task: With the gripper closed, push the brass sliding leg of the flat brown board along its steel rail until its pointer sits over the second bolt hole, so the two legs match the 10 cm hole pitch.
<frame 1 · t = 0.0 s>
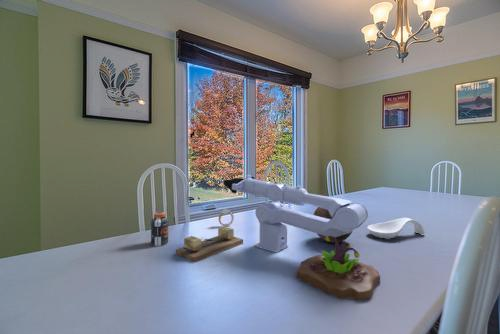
hand: (231, 181, 102), 22 cm above the table, tool horizontal, fingers open, 7 cm apart
plant: (336, 278, 68), on the table
sliding leg: (224, 233, 93), point 4 cm above the table, slide at 0.0 cm
wooden sphere: (332, 241, 96), on the table
spoon rest: (395, 236, 104), on the table
pill bottle: (159, 244, 92), on the table
ring: (226, 226, 116), on the table
flat brown board: (211, 248, 88), on the table
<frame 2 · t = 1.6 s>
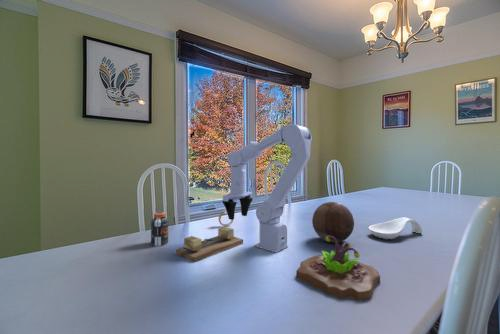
hand: (237, 217, 98), 8 cm above the table, tool pointing down, fingers open, 7 cm apart
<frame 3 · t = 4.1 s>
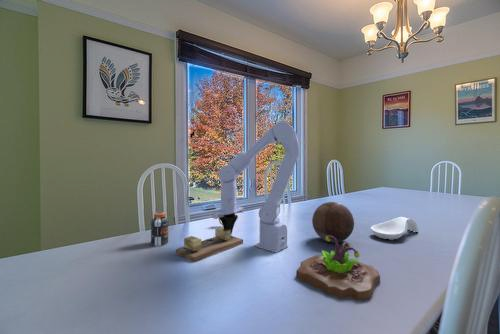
hand: (228, 234, 94), 3 cm above the table, tool pointing down, fingers closed
sliding leg: (221, 233, 92), point 4 cm above the table, slide at 1.5 cm, touching gripper
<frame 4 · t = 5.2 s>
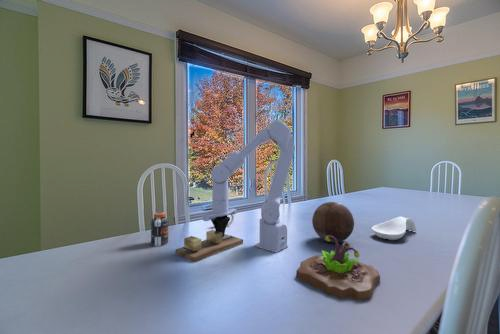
hand: (220, 237, 91), 3 cm above the table, tool pointing down, fingers closed
sliding leg: (213, 236, 89), point 4 cm above the table, slide at 5.7 cm, touching gripper
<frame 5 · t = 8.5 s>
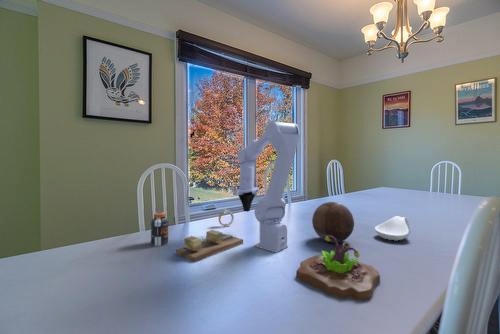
hand: (246, 211, 105), 9 cm above the table, tool pointing down, fingers closed
sliding leg: (213, 236, 89), point 4 cm above the table, slide at 5.7 cm
at the end: sliding leg slide at 5.7 cm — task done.
